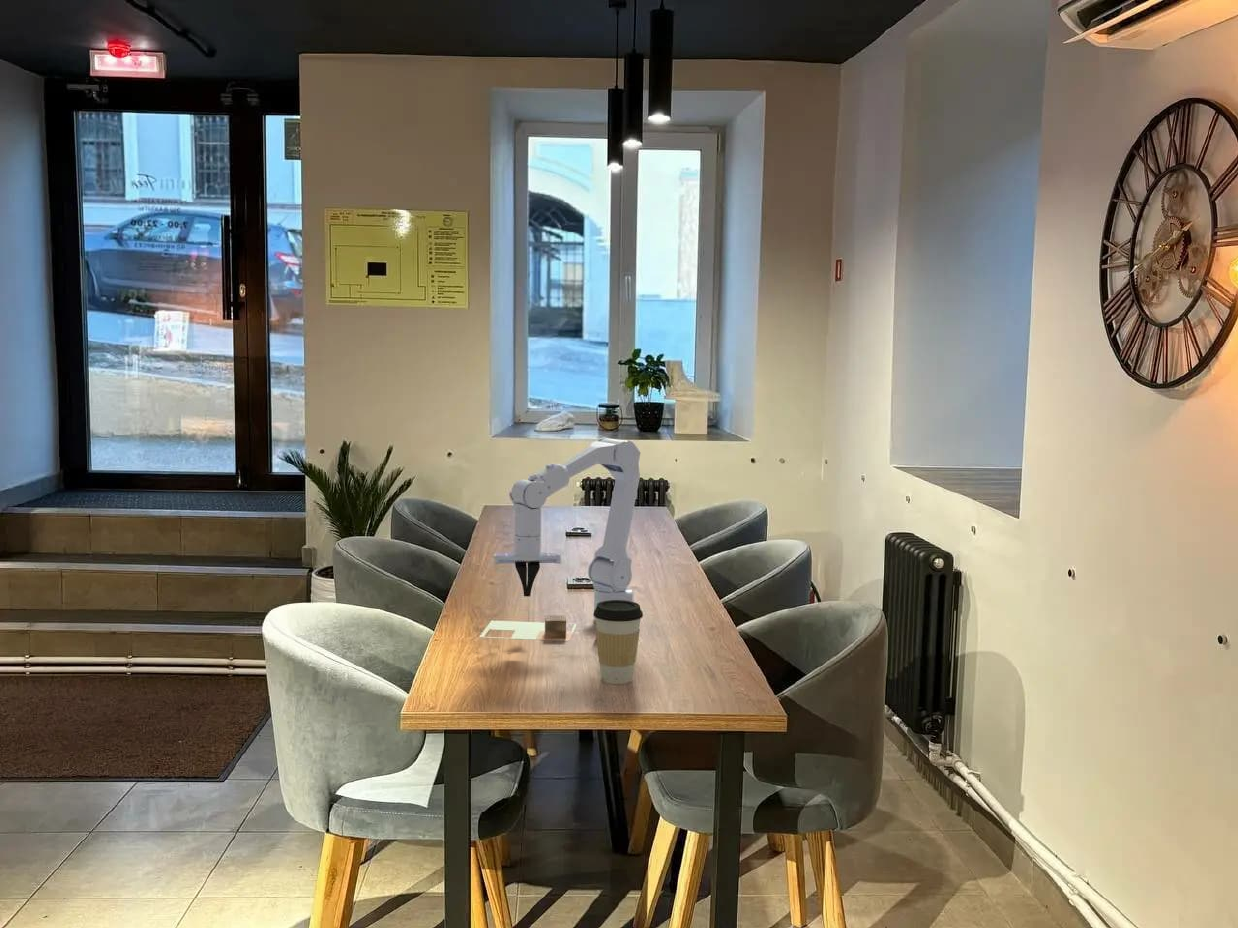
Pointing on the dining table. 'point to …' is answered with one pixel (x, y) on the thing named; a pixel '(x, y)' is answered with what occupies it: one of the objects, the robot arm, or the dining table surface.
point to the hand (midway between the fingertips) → (527, 595)
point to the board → (524, 630)
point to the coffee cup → (617, 639)
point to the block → (555, 626)
